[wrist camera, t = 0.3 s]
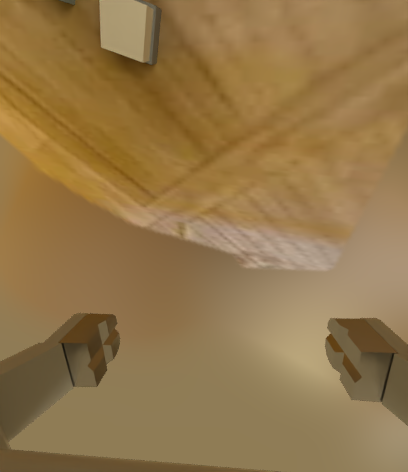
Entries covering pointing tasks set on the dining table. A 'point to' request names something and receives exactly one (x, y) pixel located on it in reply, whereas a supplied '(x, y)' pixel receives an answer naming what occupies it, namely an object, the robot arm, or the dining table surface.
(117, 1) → the tower top
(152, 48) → the tower base
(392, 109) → the dining table surface
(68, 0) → the blue pillar
